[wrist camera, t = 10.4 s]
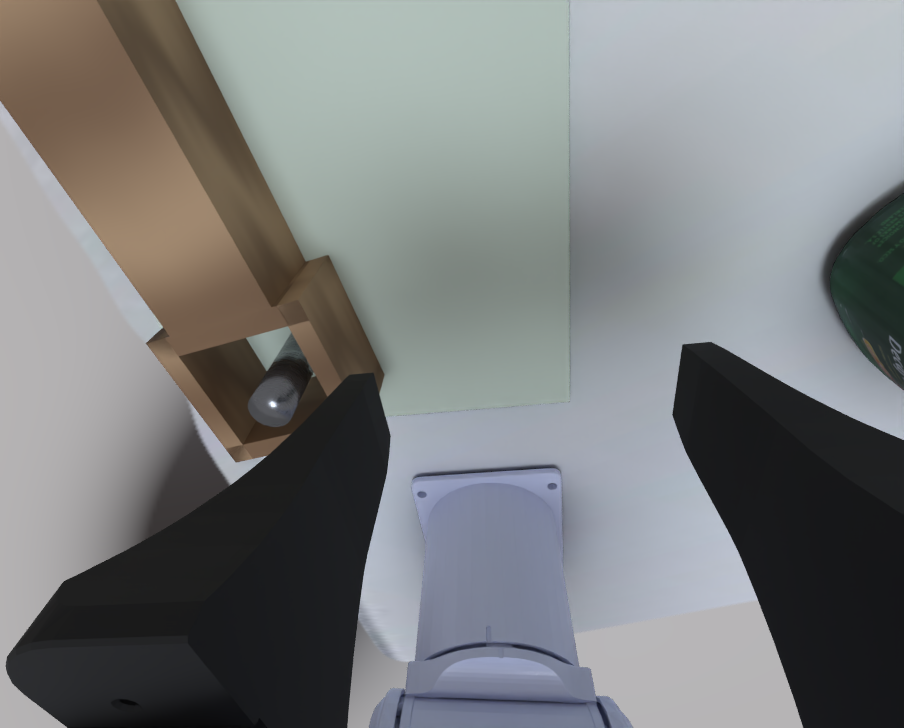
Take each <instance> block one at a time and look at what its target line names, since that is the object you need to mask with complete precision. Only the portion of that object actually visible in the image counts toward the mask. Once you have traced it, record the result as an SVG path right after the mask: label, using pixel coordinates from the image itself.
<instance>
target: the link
mask: <svg viewBox="0 0 904 728" xmlns="http://www.w3.org/2000/svg"><path fill="white" fill-rule="evenodd" d="M0 101H1V102H2V104H3V105H4V106H5V108H6V109H7V111H8V112H9V113H10V115H11V116H12V118H13V119H14V120H15V122H16V123H17V124H18V126H19V127H20V129H21V130H22V131H23V133H24V134H25V136H26V137H27V138H28V140H29V141H30V143H31V144H32V145H33V147H34V148H35V150H36V151H37V152H38V154H39V155H40V156H41V158H42V159H43V161H44V162H45V163H46V165H47V166H48V168H49V169H50V170H51V172H52V173H53V175H54V176H55V177H56V179H57V180H58V182H59V183H60V184H61V186H62V187H63V189H64V190H65V191H66V193H67V194H68V195H69V197H70V198H71V200H72V201H73V202H74V204H75V205H76V207H77V208H78V209H79V211H80V212H81V214H82V215H83V216H84V218H85V219H86V221H87V222H88V223H89V225H90V226H91V227H92V229H93V230H94V232H95V233H96V234H97V236H98V237H99V239H100V240H101V241H102V243H103V244H104V246H105V247H106V248H107V250H108V251H109V253H110V254H111V255H112V257H113V258H114V259H115V261H116V262H117V264H118V265H119V266H120V268H121V269H122V271H123V272H124V273H125V275H126V276H127V278H128V279H129V280H130V282H131V283H132V285H133V286H134V287H135V289H136V290H137V291H138V293H139V294H140V296H141V297H142V298H143V300H144V301H145V303H146V304H147V305H148V307H149V308H150V310H151V311H152V312H153V314H154V315H155V317H156V318H157V319H158V321H159V322H160V323H161V325H162V326H163V328H162V329H161V330H160V331H159V332H158V333H157V334H155V335H154V336H153V337H152V338H151V339H150V340H149V341H148V342H147V343H146V344H147V345H148V347H149V348H150V349H151V351H152V352H153V353H154V355H155V356H156V357H157V359H158V360H159V361H160V363H161V364H162V365H163V367H164V368H165V369H166V371H167V372H168V373H169V374H170V376H171V377H172V378H173V380H174V381H175V382H176V384H177V385H178V386H179V388H180V389H181V390H182V392H183V393H184V394H185V396H186V397H187V398H188V400H189V401H190V402H191V404H192V405H193V406H194V408H195V409H196V410H197V412H198V413H199V414H200V416H201V417H202V418H203V420H204V421H205V422H206V424H207V425H208V426H209V427H210V429H211V430H212V431H213V433H214V434H215V435H216V437H217V438H218V439H219V441H220V442H221V443H222V445H223V446H224V447H225V449H226V450H227V451H228V453H229V454H230V455H231V457H232V458H233V459H234V461H235V462H240V461H245V460H249V459H254V458H258V457H263V456H267V455H269V454H270V453H271V452H272V451H273V450H274V449H276V448H277V447H278V446H279V445H280V444H281V443H282V442H283V441H284V440H285V439H286V438H287V437H288V436H289V435H290V434H292V433H293V432H294V431H295V430H296V429H297V428H298V427H299V426H300V425H301V424H302V423H303V422H304V421H305V420H306V419H307V418H308V417H309V416H310V415H311V414H312V413H313V412H314V411H315V410H316V409H317V408H318V407H319V406H320V405H321V403H322V402H323V401H324V400H325V399H326V398H327V397H328V396H329V395H330V394H331V393H332V392H333V391H334V390H335V389H336V388H337V387H338V385H339V384H340V383H341V382H342V381H343V380H344V379H345V378H346V377H347V376H349V375H351V374H362V373H374V376H375V380H376V383H377V387H378V391H379V394H380V390H381V387H382V383H383V379H384V375H385V374H384V372H383V370H382V368H381V366H380V364H379V362H378V360H377V357H376V355H375V353H374V351H373V349H372V347H371V345H370V342H369V340H368V338H367V336H366V334H365V332H364V330H363V328H362V325H361V323H360V321H359V319H358V317H357V315H356V313H355V310H354V308H353V306H352V304H351V302H350V300H349V298H348V296H347V293H346V291H345V289H344V287H343V285H342V283H341V281H340V278H339V276H338V274H337V272H336V270H335V268H334V266H333V264H332V261H331V259H330V257H329V255H326V256H323V257H320V258H316V259H313V260H310V261H305V259H304V257H303V255H302V253H301V251H300V249H299V247H298V245H297V243H296V241H295V239H294V237H293V235H292V233H291V231H290V229H289V227H288V225H287V223H286V221H285V219H284V217H283V215H282V213H281V211H280V209H279V207H278V205H277V203H276V201H275V199H274V197H273V195H272V193H271V191H270V189H269V187H268V185H267V183H266V181H265V179H264V177H263V175H262V173H261V171H260V169H259V167H258V165H257V163H256V161H255V159H254V157H253V155H252V153H251V151H250V149H249V147H248V145H247V143H246V141H245V139H244V137H243V135H242V133H241V131H240V129H239V127H238V125H237V123H236V121H235V119H234V117H233V115H232V113H231V111H230V109H229V107H228V105H227V103H226V101H225V99H224V97H223V95H222V93H221V91H220V89H219V87H218V85H217V83H216V81H215V79H214V77H213V75H212V73H211V71H210V69H209V67H208V65H207V63H206V61H205V59H204V57H203V55H202V53H201V51H200V49H199V47H198V45H197V43H196V41H195V39H194V37H193V35H192V33H191V31H190V29H189V27H188V25H187V23H186V21H185V19H184V17H183V15H182V13H181V11H180V9H179V6H178V4H177V2H176V0H0ZM287 326H288V327H289V329H290V331H291V332H292V334H293V336H294V338H295V340H296V341H297V343H298V345H299V347H300V348H301V350H302V352H303V354H304V356H305V357H306V359H307V361H308V363H309V364H310V366H311V368H312V370H313V372H314V373H315V375H316V376H315V377H311V379H310V381H309V383H308V385H307V387H306V389H305V391H304V393H303V395H302V397H301V400H300V402H299V404H298V406H297V408H296V410H295V412H294V414H293V416H292V418H291V420H290V421H289V422H288V423H287V424H286V425H284V426H280V427H270V426H266V425H263V424H261V423H259V422H258V421H256V420H255V419H254V418H253V417H252V416H251V414H250V412H249V410H248V402H249V400H250V398H251V397H252V395H253V393H254V392H255V390H256V388H257V387H258V385H259V384H260V382H261V380H262V379H263V377H264V376H265V374H266V372H267V371H266V369H265V368H264V366H263V365H262V363H261V361H260V360H259V358H258V357H257V355H256V353H255V352H254V350H253V349H252V347H251V345H250V344H249V342H248V340H247V339H246V338H247V337H251V336H255V335H258V334H262V333H266V332H269V331H273V330H277V329H280V328H284V327H287Z"/></svg>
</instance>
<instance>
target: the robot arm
mask: <svg viewBox="0 0 904 728" xmlns="http://www.w3.org/2000/svg"><path fill="white" fill-rule="evenodd" d="M672 415H673V418H674V421H675V423H676V426H677V429H678V432H679V435H680V438H681V440H682V443H683V446H684V448H685V451H686V453H687V455H688V457H689V459H690V461H691V463H692V465H693V467H694V468H695V470H696V472H697V474H698V476H699V478H700V480H701V482H702V484H703V485H704V487H705V489H706V491H707V493H708V495H709V496H710V498H711V500H712V502H713V504H714V506H715V508H716V509H717V511H718V513H719V515H720V517H721V519H722V521H723V522H724V524H725V526H726V528H727V530H728V532H729V534H730V535H731V538H732V540H733V542H734V544H735V546H736V548H737V550H738V552H739V554H740V556H741V559H742V561H743V564H744V566H745V569H746V571H747V574H748V576H749V579H750V581H751V583H752V586H753V588H754V591H755V593H756V596H757V598H758V601H759V604H760V606H761V609H762V611H763V614H764V617H765V619H766V622H767V625H768V627H769V630H770V632H771V635H772V638H773V640H774V643H775V646H776V649H777V652H778V654H779V657H780V660H781V663H782V666H783V668H784V672H785V674H786V677H787V680H788V683H789V686H790V689H791V692H792V694H793V697H794V700H795V703H796V706H797V709H798V712H799V716H800V719H801V722H802V725H803V728H904V440H902V439H900V438H897V437H895V436H893V435H890V434H888V433H886V432H883V431H881V430H878V429H876V428H874V427H871V426H869V425H867V424H864V423H862V422H860V421H858V420H856V419H853V418H851V417H849V416H847V415H845V414H843V413H841V412H839V411H837V410H835V409H833V408H831V407H829V406H827V405H825V404H823V403H821V402H819V401H817V400H815V399H813V398H811V397H809V396H807V395H805V394H803V393H801V392H799V391H798V390H796V389H794V388H792V387H790V386H788V385H787V384H785V383H783V382H781V381H779V380H778V379H776V378H774V377H772V376H771V375H769V374H767V373H765V372H764V371H762V370H760V369H758V368H757V367H755V366H753V365H752V364H750V363H748V362H746V361H745V360H743V359H741V358H740V357H738V356H736V355H734V354H733V353H731V352H729V351H727V350H725V349H724V348H722V347H720V346H718V345H716V344H714V343H712V342H706V343H695V344H684V345H682V352H681V359H680V366H679V373H678V380H677V387H676V394H675V401H674V408H673V414H672ZM390 437H391V436H390V432H389V428H388V425H387V421H386V417H385V413H384V410H383V406H382V402H381V398H380V395H379V391H378V387H377V383H376V380H375V376H374V373H362V374H351V375H349V376H347V377H346V378H345V379H344V380H343V381H342V382H341V383H340V384H339V385H338V387H337V388H336V389H335V390H334V391H333V392H332V393H331V394H330V395H329V396H328V397H327V398H326V399H325V400H324V401H323V402H322V403H321V405H320V406H319V407H318V408H317V409H316V410H315V411H314V412H313V413H312V414H311V415H310V416H309V417H308V418H307V419H306V420H305V421H304V422H303V423H302V424H301V425H300V426H299V427H298V428H297V429H296V430H295V431H294V432H293V433H292V434H290V435H289V436H288V437H287V438H286V439H285V440H284V441H283V442H282V443H281V444H280V445H279V446H278V447H277V448H276V449H274V450H273V451H272V452H271V453H270V454H269V455H268V456H267V457H265V458H264V459H263V460H262V461H261V462H260V463H258V464H257V465H256V466H255V467H254V468H252V469H251V470H250V471H248V472H247V473H246V474H245V475H243V476H242V477H241V478H239V479H238V480H237V481H236V482H234V483H233V484H232V485H230V486H229V487H228V488H226V489H225V490H223V491H222V492H220V493H219V494H217V495H216V496H215V497H213V498H212V499H210V500H209V501H207V502H206V503H204V504H203V505H201V506H200V507H198V508H197V509H195V510H194V511H192V512H191V513H189V514H188V515H186V516H185V517H183V518H181V519H180V520H178V521H177V522H175V523H173V524H172V525H170V526H168V527H167V528H165V529H163V530H162V531H160V532H158V533H156V534H155V535H153V536H151V537H149V538H148V539H146V540H144V541H142V542H141V543H139V544H137V545H135V546H133V547H131V548H130V549H128V550H126V551H124V552H122V553H120V554H118V555H116V556H114V557H112V558H110V559H108V560H106V561H104V562H102V563H100V564H98V565H96V566H94V567H92V568H90V569H88V570H86V571H85V572H82V573H80V574H78V575H77V576H74V577H72V578H70V579H68V580H66V581H64V582H63V583H62V584H61V586H60V587H59V589H58V590H57V591H56V593H55V594H54V595H53V596H52V598H51V599H50V600H49V602H48V603H47V604H46V606H45V607H44V608H43V610H42V611H41V612H40V614H39V615H38V616H37V618H36V619H35V620H34V622H33V623H32V624H31V626H30V627H29V629H28V630H27V631H26V632H25V634H24V635H23V636H22V638H21V639H20V640H19V642H18V643H17V644H16V646H15V647H14V648H13V650H12V651H11V652H10V654H9V655H8V656H7V661H6V670H7V674H8V675H9V677H10V679H11V681H12V683H13V684H14V685H15V686H16V687H17V688H18V689H19V690H20V691H21V692H22V693H23V694H24V695H26V696H27V697H28V698H29V699H31V700H32V701H33V702H35V703H36V704H37V705H39V706H40V707H41V708H43V709H44V710H45V711H47V712H48V713H49V714H51V715H52V716H53V717H54V718H56V719H57V720H58V721H60V722H61V723H62V724H64V725H65V726H66V727H67V728H347V723H348V709H349V698H350V687H351V677H352V667H353V656H354V647H355V638H356V630H357V621H358V612H359V605H360V597H361V590H362V582H363V575H364V569H365V564H366V559H367V554H368V550H369V545H370V541H371V537H372V533H373V529H374V525H375V521H376V517H377V513H378V508H379V504H380V500H381V496H382V492H383V487H384V483H385V479H386V474H387V468H388V459H389V448H390ZM550 483H554V484H550ZM411 488H412V492H413V496H414V500H415V504H416V508H417V512H418V516H419V520H420V523H421V527H422V531H423V535H424V539H425V543H426V550H425V560H424V571H423V581H422V592H421V602H420V613H419V623H418V634H417V644H416V655H415V661H410V662H409V663H408V671H407V680H406V689H405V690H404V689H401V688H392V689H390V690H389V691H388V692H387V694H386V696H385V697H384V698H383V699H382V700H381V702H380V703H379V704H378V705H377V706H376V707H375V709H374V711H373V714H372V717H371V721H370V725H369V728H633V726H632V725H631V723H630V721H629V720H628V718H627V717H626V716H625V715H624V714H623V713H622V712H621V710H620V709H619V707H618V706H617V704H616V703H615V702H614V701H613V700H612V699H611V698H610V697H607V696H596V695H595V690H594V684H593V679H592V674H591V669H590V668H587V667H579V663H578V657H577V651H576V645H575V639H574V633H573V627H572V621H571V615H570V609H569V603H568V597H567V591H566V585H565V579H564V573H563V538H562V478H561V474H560V471H559V470H557V469H555V468H545V469H530V470H515V471H500V472H485V473H470V474H455V475H440V476H425V477H417V478H415V479H413V481H412V486H411ZM420 491H424V492H420Z"/></svg>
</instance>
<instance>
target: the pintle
mask: <svg viewBox="0 0 904 728" xmlns="http://www.w3.org/2000/svg"><path fill="white" fill-rule="evenodd" d="M312 375H313V370H312V368H311V366H310V364H309V363H308V361H307V359H306V357H305V356H304V354H303V352H302V350H301V348H300V347H299V345H298V343H297V341H296V340H295V338H294V336H293V334H292V332H291V334H290V335H289V337H288V339H287V340H286V342H285V343H284V345H283V347H282V348H281V350H280V351H279V353H278V355H277V356H276V358H275V359H274V361H273V363H272V364H271V366H270V368H269V369H268V371H267V372H266V374H265V376H264V377H263V379H262V380H261V382H260V384H259V385H258V387H257V388H256V390H255V392H254V393H253V395H252V397H251V398H250V400H249V402H248V410H249V412H250V414H251V416H252V417H253V418H254V419H255V420H256V421H258V422H259V423H261V424H263V425H266V426H270V427H280V426H284V425H286V424H287V423H288V422H289V421H290V420H291V418H292V416H293V414H294V412H295V410H296V408H297V406H298V404H299V402H300V400H301V397H302V395H303V393H304V391H305V389H306V387H307V385H308V383H309V381H310V379H311V377H312Z"/></svg>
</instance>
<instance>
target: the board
mask: <svg viewBox="0 0 904 728" xmlns="http://www.w3.org/2000/svg"><path fill="white" fill-rule="evenodd" d="M176 2H177V4H178V6H179V9H180V11H181V13H182V15H183V17H184V19H185V21H186V23H187V25H188V27H189V29H190V31H191V33H192V35H193V37H194V39H195V41H196V43H197V45H198V47H199V49H200V51H201V53H202V55H203V57H204V59H205V61H206V63H207V65H208V67H209V69H210V71H211V73H212V75H213V77H214V79H215V81H216V83H217V85H218V87H219V89H220V91H221V93H222V95H223V97H224V99H225V101H226V103H227V105H228V107H229V109H230V111H231V113H232V115H233V117H234V119H235V121H236V123H237V125H238V127H239V129H240V131H241V133H242V135H243V137H244V139H245V141H246V143H247V145H248V147H249V149H250V151H251V153H252V155H253V157H254V159H255V161H256V163H257V165H258V167H259V169H260V171H261V173H262V175H263V177H264V179H265V181H266V183H267V185H268V187H269V189H270V191H271V193H272V195H273V197H274V199H275V201H276V203H277V205H278V207H279V209H280V211H281V213H282V215H283V217H284V219H285V221H286V223H287V225H288V227H289V229H290V231H291V233H292V235H293V237H294V239H295V241H296V243H297V245H298V247H299V249H300V251H301V253H302V255H303V257H304V259H305V261H310V260H313V259H316V258H320V257H323V256H326V255H329V257H330V259H331V261H332V264H333V266H334V268H335V270H336V272H337V274H338V276H339V278H340V281H341V283H342V285H343V287H344V289H345V291H346V293H347V296H348V298H349V300H350V302H351V304H352V306H353V308H354V310H355V313H356V315H357V317H358V319H359V321H360V323H361V325H362V328H363V330H364V332H365V334H366V336H367V338H368V340H369V342H370V345H371V347H372V349H373V351H374V353H375V355H376V357H377V360H378V362H379V364H380V366H381V368H382V370H383V372H384V374H385V375H384V379H383V383H382V387H381V390H380V394H379V395H380V398H381V402H382V406H383V410H384V413H385V417H390V416H402V415H415V414H427V413H440V412H452V411H465V410H477V409H490V408H502V407H514V406H527V405H539V404H552V403H564V402H570V250H569V0H176ZM152 313H153V312H152ZM154 316H155V315H154ZM155 318H156V317H155ZM156 320H157V322H158V324H159V326H160V328H161V329H162V328H163V326H162V325H161V323H160V322H159V321H158V319H157V318H156ZM290 334H291V331H290V329H289V327H288V326H287V327H284V328H280V329H277V330H273V331H269V332H266V333H262V334H258V335H255V336H251V337H247V338H246V339H247V340H248V342H249V344H250V345H251V347H252V349H253V350H254V352H255V353H256V355H257V357H258V358H259V360H260V361H261V363H262V365H263V366H264V368H265V369H266V371H268V369H269V368H270V366H271V364H272V363H273V361H274V359H275V358H276V356H277V355H278V353H279V351H280V350H281V348H282V347H283V345H284V343H285V342H286V340H287V339H288V337H289V335H290ZM315 376H316V375H315V373H314V372H313V375H312V377H315Z"/></svg>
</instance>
